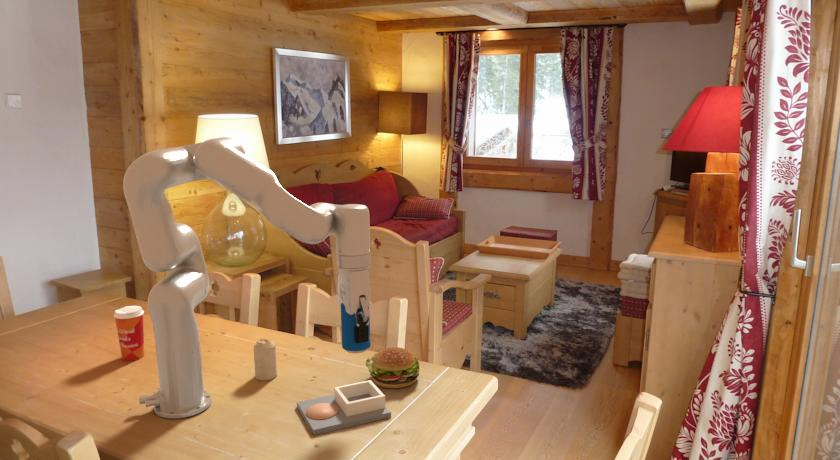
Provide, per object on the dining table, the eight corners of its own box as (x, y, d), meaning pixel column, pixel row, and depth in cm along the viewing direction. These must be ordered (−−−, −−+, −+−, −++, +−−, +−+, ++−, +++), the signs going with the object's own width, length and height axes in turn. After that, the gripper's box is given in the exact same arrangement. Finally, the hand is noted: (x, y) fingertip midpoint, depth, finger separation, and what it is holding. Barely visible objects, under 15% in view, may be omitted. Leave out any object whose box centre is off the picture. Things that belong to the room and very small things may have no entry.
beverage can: (366, 355, 138) (364, 304, 135) (338, 353, 139) (336, 302, 137) (374, 344, 144) (372, 295, 142) (347, 342, 145) (345, 293, 143)
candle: (281, 374, 163) (279, 338, 161) (268, 382, 158) (265, 345, 156) (264, 370, 165) (262, 334, 163) (250, 378, 161) (248, 342, 159)
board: (313, 435, 133) (312, 417, 132) (297, 406, 145) (296, 390, 145) (391, 417, 141) (390, 399, 140) (368, 391, 153) (368, 375, 152)
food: (368, 368, 167) (367, 340, 165) (420, 368, 166) (420, 340, 165) (362, 391, 153) (361, 361, 152) (418, 392, 153) (418, 361, 151)
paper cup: (111, 360, 172) (106, 312, 170) (133, 350, 179) (129, 303, 177) (133, 364, 169) (128, 315, 167) (154, 353, 176) (150, 307, 174)
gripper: (325, 253, 143) (328, 327, 147) (350, 271, 128) (353, 353, 132) (356, 250, 147) (358, 322, 150) (384, 267, 131) (385, 347, 135)
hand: (356, 336), depth 141 cm, fingers closed on beverage can, 6 cm apart
